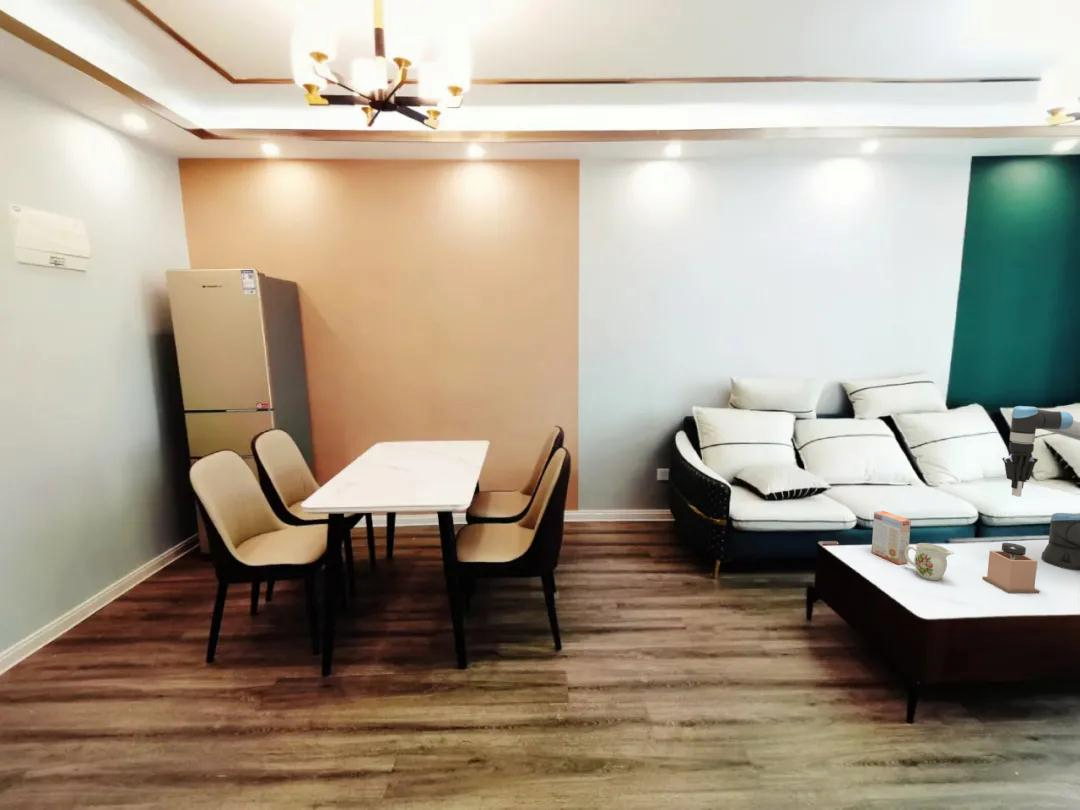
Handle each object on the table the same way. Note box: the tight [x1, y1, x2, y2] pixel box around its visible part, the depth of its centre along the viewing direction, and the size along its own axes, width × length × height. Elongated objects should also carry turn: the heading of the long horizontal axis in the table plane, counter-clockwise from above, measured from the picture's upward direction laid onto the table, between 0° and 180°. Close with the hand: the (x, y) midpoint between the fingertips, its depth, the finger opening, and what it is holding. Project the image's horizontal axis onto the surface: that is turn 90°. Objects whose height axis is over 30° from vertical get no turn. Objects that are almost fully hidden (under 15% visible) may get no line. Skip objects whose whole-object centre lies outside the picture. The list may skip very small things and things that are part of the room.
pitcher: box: [905, 542, 955, 581], centre depth 210 cm, size 11×18×14 cm, turn 25°
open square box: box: [982, 550, 1040, 594], centre depth 200 cm, size 12×12×13 cm
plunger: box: [1001, 542, 1027, 560], centre depth 200 cm, size 8×8×15 cm
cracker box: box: [871, 510, 912, 565], centre depth 228 cm, size 14×6×21 cm, turn 12°
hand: (1016, 495), depth 211 cm, fingers closed
